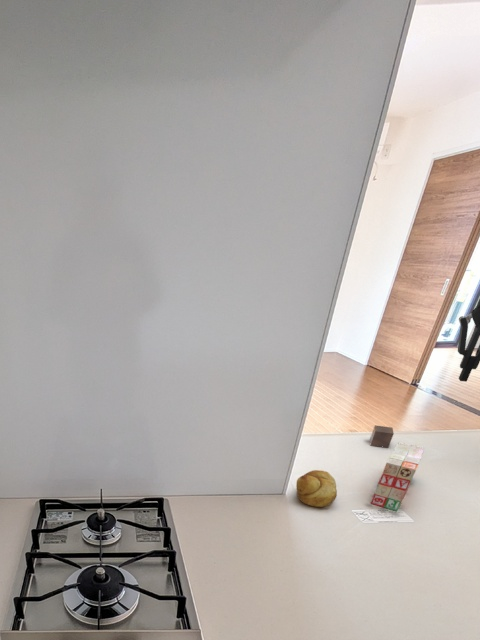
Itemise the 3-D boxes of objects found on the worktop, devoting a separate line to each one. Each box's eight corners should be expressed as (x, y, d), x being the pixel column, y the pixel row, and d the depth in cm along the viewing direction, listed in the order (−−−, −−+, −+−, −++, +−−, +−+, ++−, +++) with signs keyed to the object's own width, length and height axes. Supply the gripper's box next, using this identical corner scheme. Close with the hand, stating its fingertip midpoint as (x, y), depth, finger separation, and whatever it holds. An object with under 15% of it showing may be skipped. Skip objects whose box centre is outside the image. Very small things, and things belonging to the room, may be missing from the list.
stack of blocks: (387, 471, 126) (402, 431, 119) (412, 477, 123) (429, 437, 116) (370, 503, 113) (386, 461, 106) (397, 512, 109) (416, 469, 102)
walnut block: (387, 441, 142) (392, 427, 139) (388, 448, 138) (393, 433, 135) (369, 439, 144) (374, 425, 141) (370, 445, 140) (375, 431, 137)
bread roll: (301, 482, 123) (308, 456, 118) (338, 491, 118) (347, 465, 114) (289, 503, 114) (296, 477, 110) (329, 514, 110) (338, 487, 105)
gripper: (474, 290, 112) (437, 381, 125) (538, 291, 107) (493, 386, 121) (467, 286, 118) (433, 374, 131) (529, 287, 113) (487, 378, 126)
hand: (462, 379), depth 126 cm, fingers closed
